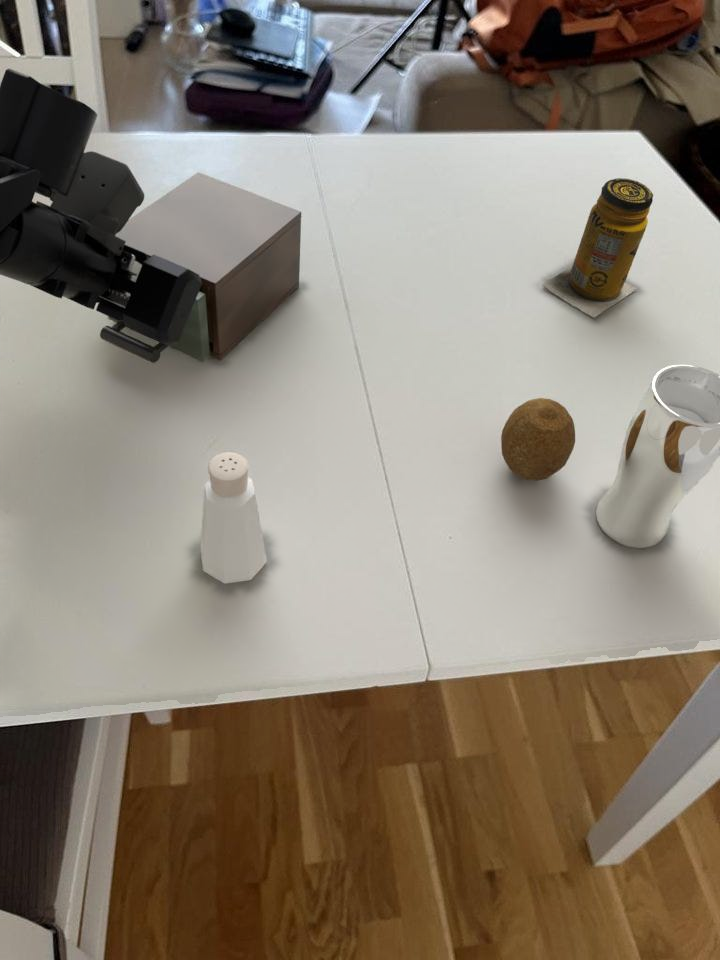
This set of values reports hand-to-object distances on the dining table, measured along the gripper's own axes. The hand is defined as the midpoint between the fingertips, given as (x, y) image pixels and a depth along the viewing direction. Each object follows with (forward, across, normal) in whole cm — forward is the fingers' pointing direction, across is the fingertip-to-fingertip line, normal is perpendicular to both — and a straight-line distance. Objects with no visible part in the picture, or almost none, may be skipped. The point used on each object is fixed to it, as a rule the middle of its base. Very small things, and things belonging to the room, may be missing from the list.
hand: (146, 292), depth 76 cm
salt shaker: (-7, -21, +16) cm, 27 cm away
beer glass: (+8, -47, +1) cm, 48 cm away
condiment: (+30, -33, -20) cm, 49 cm away
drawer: (+8, 0, +1) cm, 8 cm away
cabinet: (+12, 0, -2) cm, 12 cm away
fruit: (+9, -37, +1) cm, 38 cm away
